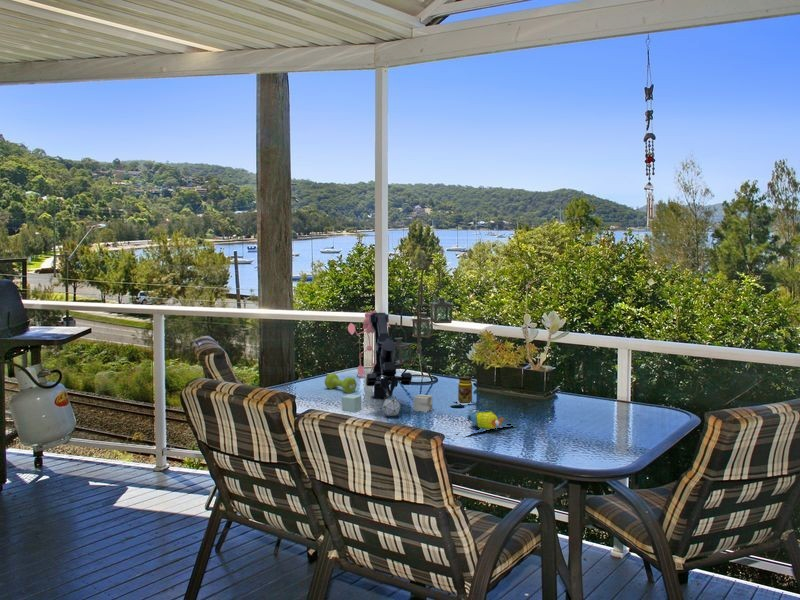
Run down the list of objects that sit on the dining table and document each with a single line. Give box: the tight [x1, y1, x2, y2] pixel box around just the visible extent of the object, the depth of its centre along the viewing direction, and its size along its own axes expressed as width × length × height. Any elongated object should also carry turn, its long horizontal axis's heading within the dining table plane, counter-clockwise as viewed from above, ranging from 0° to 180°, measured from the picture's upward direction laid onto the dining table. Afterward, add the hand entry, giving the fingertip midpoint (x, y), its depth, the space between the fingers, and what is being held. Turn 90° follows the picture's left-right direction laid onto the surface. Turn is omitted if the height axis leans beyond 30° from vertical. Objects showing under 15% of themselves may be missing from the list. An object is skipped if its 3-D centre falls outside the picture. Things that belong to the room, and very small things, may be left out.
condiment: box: [457, 375, 473, 403], centre depth 334 cm, size 7×8×12 cm
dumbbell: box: [324, 373, 358, 394], centre depth 359 cm, size 16×8×7 cm, turn 45°
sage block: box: [341, 393, 362, 413], centre depth 320 cm, size 6×6×6 cm
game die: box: [379, 396, 404, 419], centre depth 310 cm, size 9×8×10 cm
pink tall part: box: [347, 309, 391, 378], centre depth 389 cm, size 15×26×35 cm, turn 134°
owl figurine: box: [466, 408, 505, 430], centre depth 290 cm, size 28×9×15 cm
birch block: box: [413, 394, 433, 413], centre depth 321 cm, size 6×6×6 cm
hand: (390, 396), depth 309 cm, fingers closed
